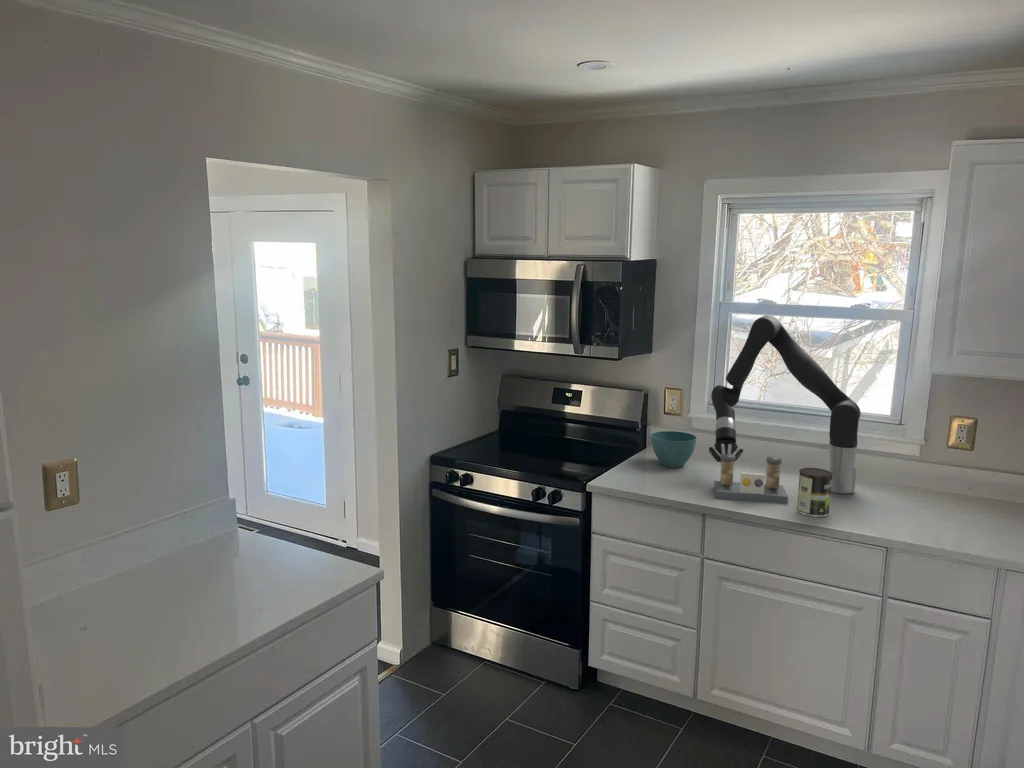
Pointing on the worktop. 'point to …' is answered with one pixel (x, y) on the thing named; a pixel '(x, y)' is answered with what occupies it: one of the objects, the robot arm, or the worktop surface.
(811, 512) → the coffee can
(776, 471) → the near knob
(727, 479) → the far knob
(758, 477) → the slider board
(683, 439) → the teal round bowl
